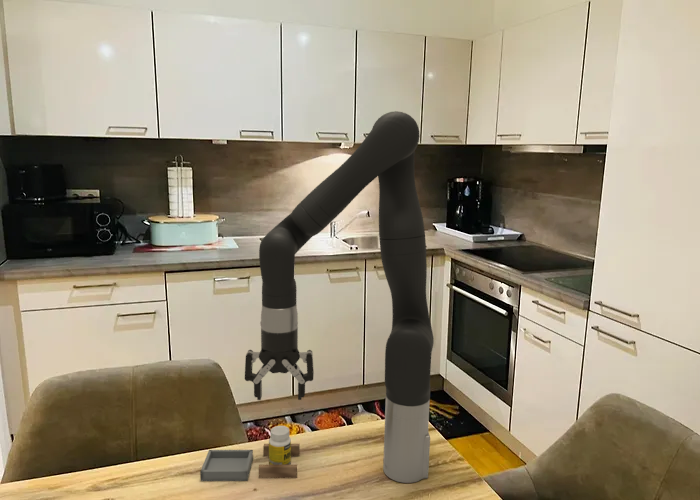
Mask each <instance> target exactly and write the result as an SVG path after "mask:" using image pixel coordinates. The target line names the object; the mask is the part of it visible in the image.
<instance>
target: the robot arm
mask: <svg viewBox="0 0 700 500" xmlns="http://www.w3.org/2000/svg"><path fill="white" fill-rule="evenodd" d="M419 142H420V129H419V125H418V122H416V120H415V119H414V118H413V117H412V116H411V115H410V114H408V113H406V112H403V111H396V110H395V111H389V112H385V114H384V113H383V115H382V114H381V116H380V117H378V119H377V120H376V121H374V123H373V126H372V128H371V130H370V131H369V133H368V134H367V135H366V137H365V138H364V139H363V141H362V142H361V144H360V145H359V146H358V147H357V148H356V149H355V150H354V152H353V153H352V154H351V155H350V156H349V157H348V158H347V159H346V160H345V161H344V162H343V163H342V164H341V165H340V166H339V167H338V168H337V169H335V170H334V171H333V172H332V173H331V174H330V175H328V176H327V177H326V178H325V179H323V181H321V182H320V183H319V184H318V185H317V186H316V187H315V188H314V189H312V191H310V193H308V194H307V195H306V196H305V197H304V198H303V199H302V200H301V201H300V202H299V203H298V204H297V205H296V206H295V208H293V210H292V211H291V213H289V215H287V216H286V217H285V218H284V219H282V220H281V221H280V222H279V223H277V224H276V225H275V226H274V227H273V228H272V229H271V230H270V231H268V232H267V234H266V235H264V237H263V238H262V240H261V242H260V245H259V249H258V250H259V251H258V253H259V254H258V256H259V257H258V260H259V269H260V276H261V281H262V283H261V312H260V313H261V314H260V323H259V324H260V343H261V344H260V347H261V348H260V351H253V350H252V349H249V350H247V352H246V354H245V363H244V364H245V365H244V380H245V381H246V382H252V383H253V396H254V398H257V399H256V400H257V401H261V400H262V396H263V391H262V390H263V384H262V380H263V378H264V377H266V375H267V374H268V373H269V372H270V373H271V374H279V373H280V374H287V373H290V374H291V376H292V377H294V378H295V380H296V381H297V382H298V383H297V400H298V401H302V398H305V395H306V383H307V382H312V381H313V380H314V374H315V373H314V358H313V356H314V354H313V350H311V349H309V350H307V351H301V352H300V351H299V349H298V348H299V347H298V345H299V344H298V343H299V341H298V339H299V338H298V337H299V336H298V334H299V333H298V331H299V330H298V328H299V327H298V326H299V325H298V324H299V321H298V320H299V316H298V314H299V313H298V308H297V282H296V279H295V259H296V258H295V257H296V254H297V253H298V252H299V251H300V250H301V249H302V247H303V246H304V245H306V244H307V243H308V241H309V242H310V240H311V239H312V238H313V237H314V236H316V235H318V234H319V233H320V232H322V231H323V230H325V228H326V227H327V226H329V224H331V222H333V221H334V220H335V219H336V218H337V217H338V216H339V215H340V214H341V213H342V212H343V211H344V210H345V209H346V208H347V207H348V206H349V204H351V203H352V202H353V200H354V199H355V198H356V197H357V196H359V195H360V193H361V192H363V191H364V189H365V188H366V187H367V186H368V185H369V184H371V182H373V181H374V180H376V178H378V187H379V189H378V190H379V193H378V194H379V198H378V237H379V238H378V239H379V248H380V250H379V251H380V259H381V264H382V267H383V272H384V275H385V279H386V281H387V284H388V287H389V290H390V291H389V292H390V295H391V296H390V297H391V305H392V322H391V323H392V324H391V331H390V333H389V335H388V338H387V340H386V345H385V353H384V386H385V404H384V405H385V411H384V434H383V435H384V437H383V439H384V440H383V458H382V459H383V460H382V463H383V468H382V470H383V473H384V474H385V475H386V476H387V478H389V479H391V480H393V481H395V482H397V483H405V484H410V483H411V484H412V483H416V482H419V481H422V480H424V479H428V478H429V467H430V447H431V436H430V433H429V423H430V422H429V420H430V403H431V402H430V401H431V368H432V352H433V347H434V341H435V339H434V333H433V328H432V323H431V319H430V313H429V312H430V311H429V307H428V299H427V277H428V276H427V273H428V272H427V270H428V268H427V267H428V265H427V243H426V231H425V230H426V229H425V223H424V217H423V211H422V208H421V204H420V199H419V196H418V193H417V192H418V191H417V188H416V177H415V152H416V151H415V150H416V149H417V147H418V145H419ZM257 359H259V361H260V362H261V363H262V365H261V367H260V368H259V369H258V371H257V372H256V373H254V372H253V365H254V363H256V360H257ZM300 359H301V360H302V361H303V363H304V364H306V372H307V373H304V372H303V370H301V369H300V366H299V365H298V364H297V363H298V362H299V360H300Z"/></svg>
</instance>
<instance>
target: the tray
mask: <svg viewBox="0 0 700 500" xmlns="http://www.w3.org/2000/svg"><path fill="white" fill-rule="evenodd" d="M253 460H254V449H209V450H208V452H207V454H206V457H205V459H204V461H203V463H202V467H201V469H200V472H199V474H200V482H248V480H249V476H250V473H251V472H250V471H251V468H252V464H253Z"/></svg>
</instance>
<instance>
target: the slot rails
mask: <svg viewBox="0 0 700 500" xmlns="http://www.w3.org/2000/svg"><path fill="white" fill-rule="evenodd" d="M300 447H301V446H300V443H291V457H300V450H301V448H300ZM262 451H263V452H262V453H263V456H262V457H269V443H263V450H262ZM258 479H298V464H297V463H296V464H291V465H269V464H258Z"/></svg>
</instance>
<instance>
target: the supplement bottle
mask: <svg viewBox="0 0 700 500" xmlns="http://www.w3.org/2000/svg"><path fill="white" fill-rule="evenodd" d="M291 439H292V438H291V437H290V428H289V427H287V426H285V425H276V426H273V427H272V428H271V429H270V438H269V439H268V444H269V456H268V465H292V464H291V463H292V461H291V460H292V456H291V444H292V440H291Z"/></svg>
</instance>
